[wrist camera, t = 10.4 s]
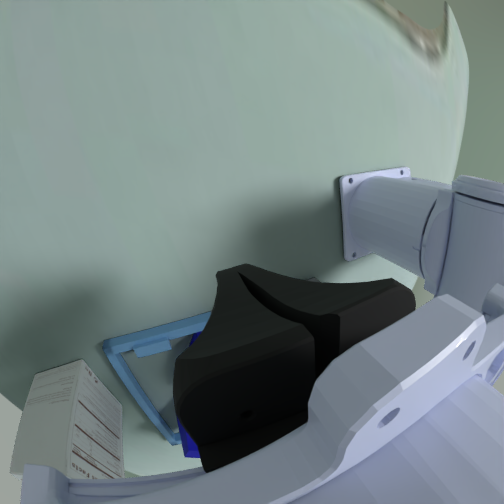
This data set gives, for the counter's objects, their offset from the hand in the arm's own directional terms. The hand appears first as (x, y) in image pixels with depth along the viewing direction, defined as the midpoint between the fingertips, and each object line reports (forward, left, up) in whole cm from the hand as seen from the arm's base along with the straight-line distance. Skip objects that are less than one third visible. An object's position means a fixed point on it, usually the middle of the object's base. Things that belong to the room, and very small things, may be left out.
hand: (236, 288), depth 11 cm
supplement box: (+17, +12, -10) cm, 23 cm away
